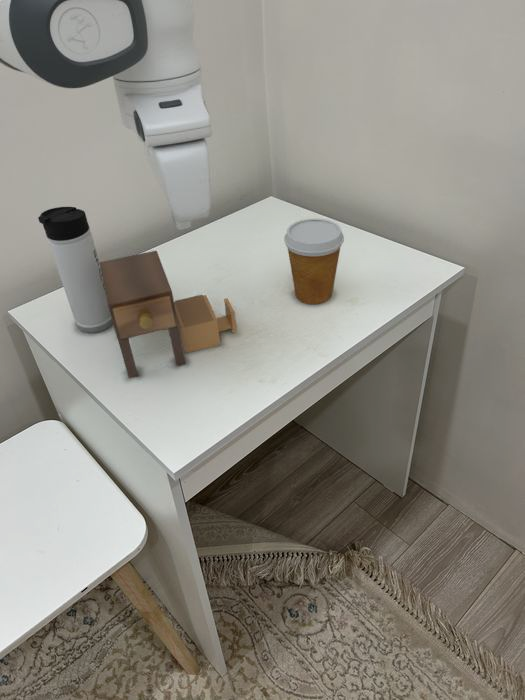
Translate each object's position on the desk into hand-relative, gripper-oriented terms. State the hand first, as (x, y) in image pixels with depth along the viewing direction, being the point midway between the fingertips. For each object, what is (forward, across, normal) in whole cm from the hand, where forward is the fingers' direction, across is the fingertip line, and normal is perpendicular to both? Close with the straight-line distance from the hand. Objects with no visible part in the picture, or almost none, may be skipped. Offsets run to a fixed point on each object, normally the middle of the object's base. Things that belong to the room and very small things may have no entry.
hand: (182, 224), depth 65 cm
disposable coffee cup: (+23, -12, +22) cm, 34 cm away
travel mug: (+23, -18, -14) cm, 33 cm away
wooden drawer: (+23, -8, +2) cm, 25 cm away
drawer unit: (+23, -8, -7) cm, 25 cm away
